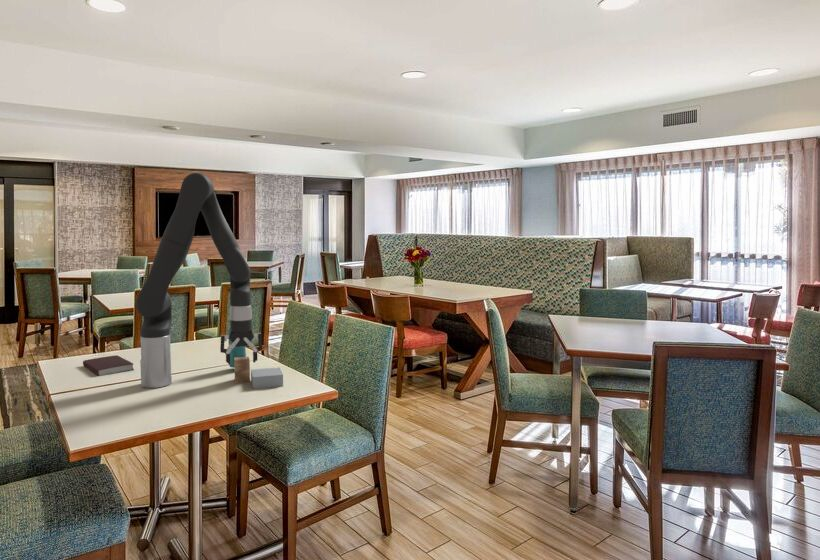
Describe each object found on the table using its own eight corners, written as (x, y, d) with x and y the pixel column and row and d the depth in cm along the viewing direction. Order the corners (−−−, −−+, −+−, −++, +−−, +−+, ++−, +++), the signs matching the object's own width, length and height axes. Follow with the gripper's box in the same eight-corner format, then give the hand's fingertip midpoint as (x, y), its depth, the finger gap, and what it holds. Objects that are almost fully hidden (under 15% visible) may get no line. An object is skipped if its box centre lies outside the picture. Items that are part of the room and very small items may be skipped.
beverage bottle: (241, 372, 204) (240, 319, 202) (225, 371, 205) (223, 318, 203) (249, 367, 210) (248, 316, 208) (234, 366, 211) (232, 316, 209)
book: (97, 377, 196) (97, 369, 196) (82, 367, 210) (82, 359, 209) (134, 371, 205) (134, 363, 204) (118, 362, 218) (117, 354, 218)
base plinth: (253, 388, 183) (252, 377, 183) (251, 380, 193) (251, 369, 192) (283, 385, 187) (282, 374, 186) (279, 378, 196) (279, 367, 196)
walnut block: (235, 383, 190) (234, 360, 189) (234, 379, 194) (234, 357, 193) (250, 382, 191) (249, 359, 190) (249, 378, 196) (248, 356, 195)
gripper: (219, 320, 185) (220, 367, 186) (262, 318, 189) (263, 364, 191) (219, 317, 192) (220, 361, 193) (261, 315, 196) (261, 359, 198)
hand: (241, 362), depth 192 cm, fingers open, 8 cm apart
